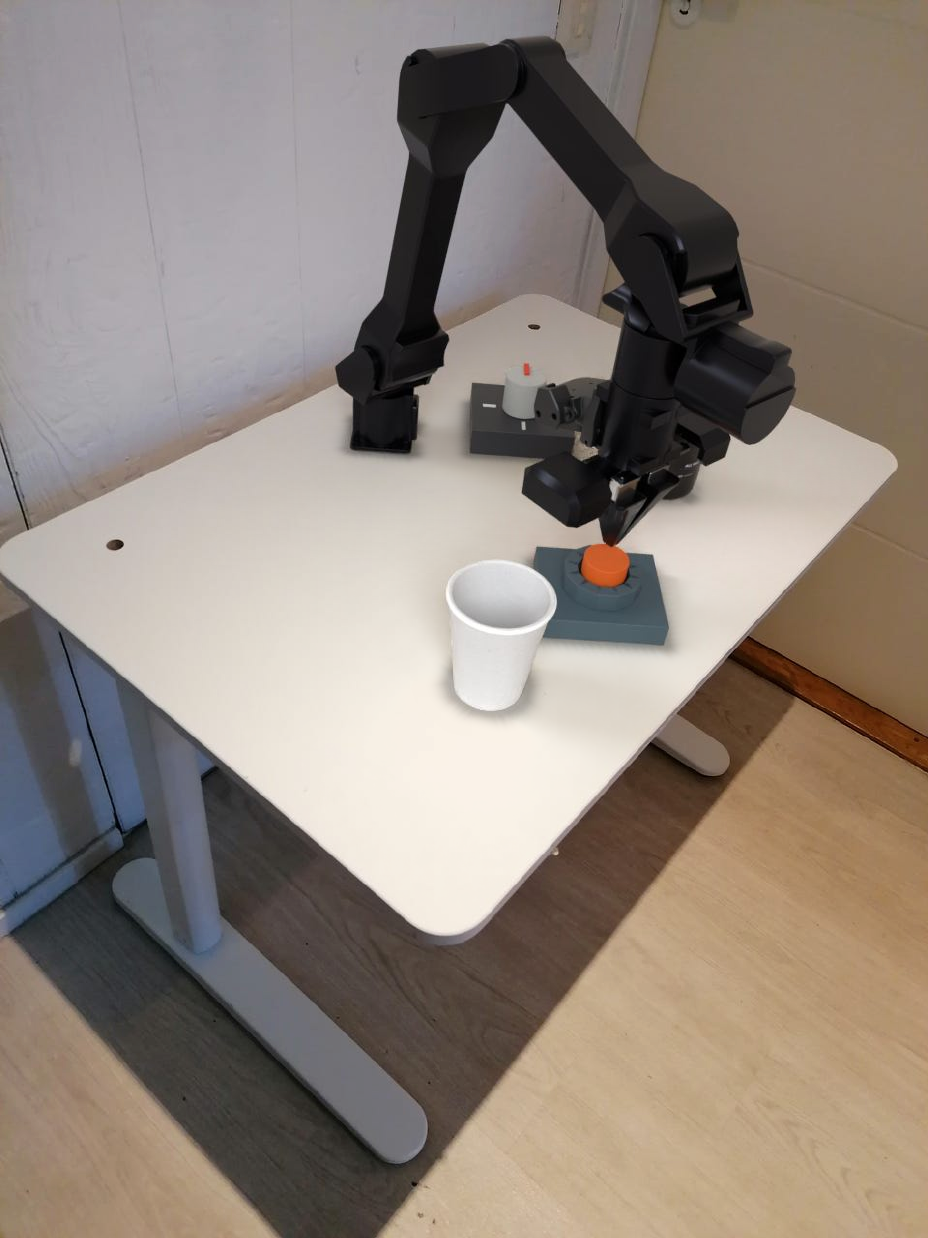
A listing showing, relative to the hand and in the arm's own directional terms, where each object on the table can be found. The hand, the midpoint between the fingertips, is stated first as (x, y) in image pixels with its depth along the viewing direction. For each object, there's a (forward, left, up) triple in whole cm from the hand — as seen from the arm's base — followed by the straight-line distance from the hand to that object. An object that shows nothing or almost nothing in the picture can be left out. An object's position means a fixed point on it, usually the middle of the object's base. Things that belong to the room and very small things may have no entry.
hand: (610, 543), depth 83 cm
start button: (0, 0, -3) cm, 3 cm away
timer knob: (-6, +28, -4) cm, 29 cm away
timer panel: (-6, +28, -7) cm, 29 cm away
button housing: (0, 0, -7) cm, 7 cm away
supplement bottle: (+9, +20, -7) cm, 23 cm away
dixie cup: (-10, -11, -7) cm, 17 cm away
